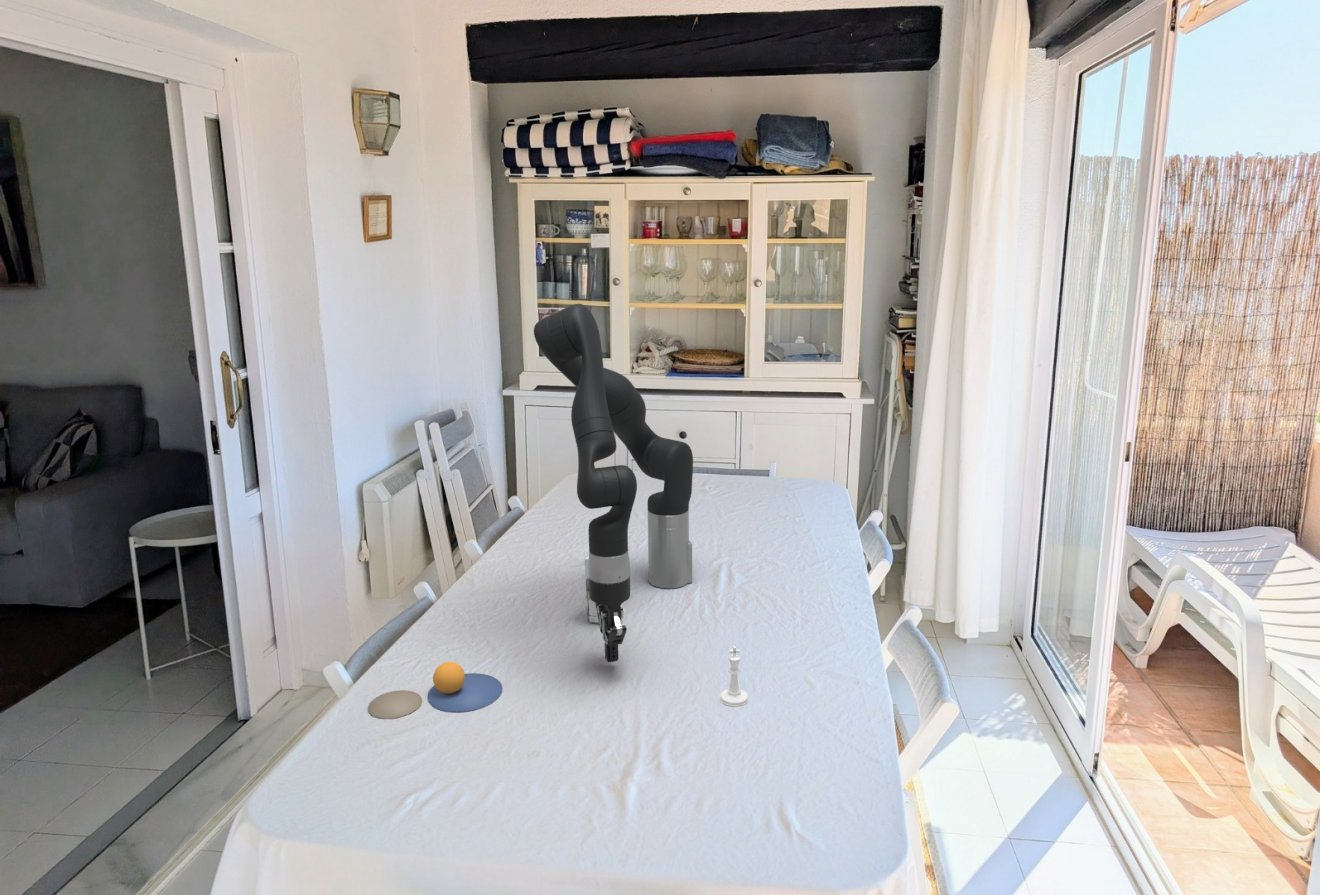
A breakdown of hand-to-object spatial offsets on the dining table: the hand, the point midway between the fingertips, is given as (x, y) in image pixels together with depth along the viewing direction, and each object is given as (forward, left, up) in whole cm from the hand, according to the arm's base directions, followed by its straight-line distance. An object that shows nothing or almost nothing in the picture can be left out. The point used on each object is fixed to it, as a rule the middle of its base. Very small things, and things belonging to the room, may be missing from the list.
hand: (611, 659), depth 170 cm
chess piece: (-17, +18, -2) cm, 25 cm away
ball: (+30, -1, +1) cm, 30 cm away
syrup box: (-4, -20, -2) cm, 20 cm away
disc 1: (+39, 0, -2) cm, 39 cm away
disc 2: (+27, 0, -2) cm, 27 cm away
